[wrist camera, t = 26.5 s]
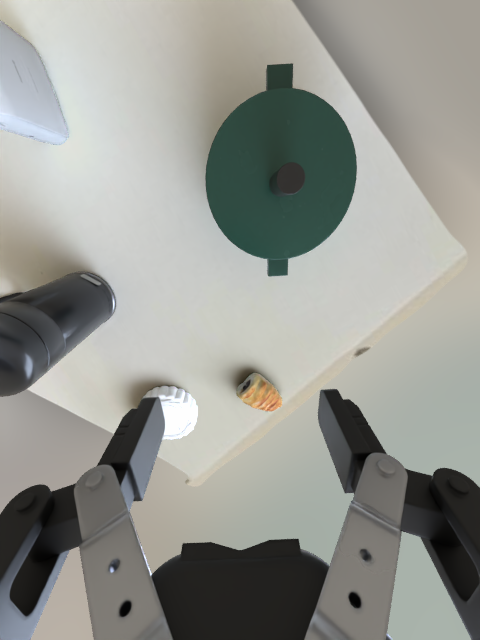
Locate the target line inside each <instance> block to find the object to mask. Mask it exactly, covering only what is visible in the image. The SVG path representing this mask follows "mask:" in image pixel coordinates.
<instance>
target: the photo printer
mask: <svg viewBox="0 0 480 640" xmlns="http://www.w3.org/2000/svg"><path fill="white" fill-rule="evenodd" d="M0 129H2V130H5V131H8V132H12V133H15V134H18V135H21V136H25V137H28V138H31V139H34V140H37V141H40V142H47V143H50V144H53V145H61V144H63V143H64V142H65V141H66V140H67V138H68V137H69V134H68V130H67V126H66V123H65V120H64V117H63V114H62V112H61V109H60V106H59V103H58V101H57V98H56V95H55V93H54V90H53V87H52V85H51V82H50V80H49V78H48V75H47V73H46V70H45V68H44V65H43V63H42V60H41V58H40V56H39V54H38V52H37V51H36V49H35V47H34V46H33V45H32V44H31V43H29V42H28V41H27V40H26V39H24V38H23V37H22V36H21V35H19V34H18V33H17V32H15V31H14V30H13V29H12V28H10V27H9V26H8V25H6V24H5V23H4V22H2V21H1V20H0Z"/></svg>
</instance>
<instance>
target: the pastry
mask: <svg viewBox="0 0 480 640" xmlns="http://www.w3.org/2000/svg"><path fill="white" fill-rule="evenodd" d="M237 396H238V397H239V398H240V399H241V400H242V401H243V402H244V403H246V404H248V405H250V406H251V407H253V408H258V409H261V410H265V411H274V410H276V409H277V408H278V407H281V406H282V397H281V396H280V395H279V393H278V391H277V390H276V389H275V388H274V386H273V384H271V383H270V382H269V381H267V380H266V379H265V378H264V377H263V376H261V375H260V374H258V373H252V374H251V375H250V376H248V377H247V379H246V380H245V381H244V383H242V384H241V385H239V386H238V388H237Z"/></svg>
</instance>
